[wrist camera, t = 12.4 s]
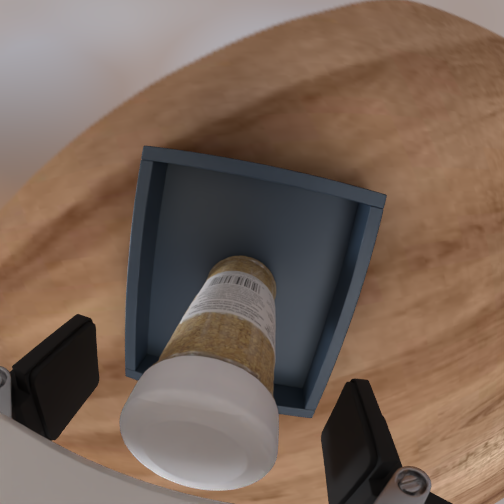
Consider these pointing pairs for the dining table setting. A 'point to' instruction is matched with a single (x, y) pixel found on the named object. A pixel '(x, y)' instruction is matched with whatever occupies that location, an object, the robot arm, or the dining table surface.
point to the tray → (250, 245)
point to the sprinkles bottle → (212, 386)
